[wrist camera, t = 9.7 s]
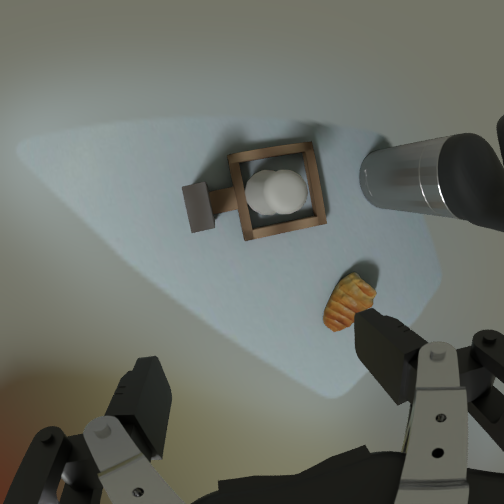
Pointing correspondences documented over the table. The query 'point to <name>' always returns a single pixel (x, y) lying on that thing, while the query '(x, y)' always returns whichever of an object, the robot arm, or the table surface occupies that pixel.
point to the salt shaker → (276, 192)
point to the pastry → (347, 302)
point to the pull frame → (232, 198)
